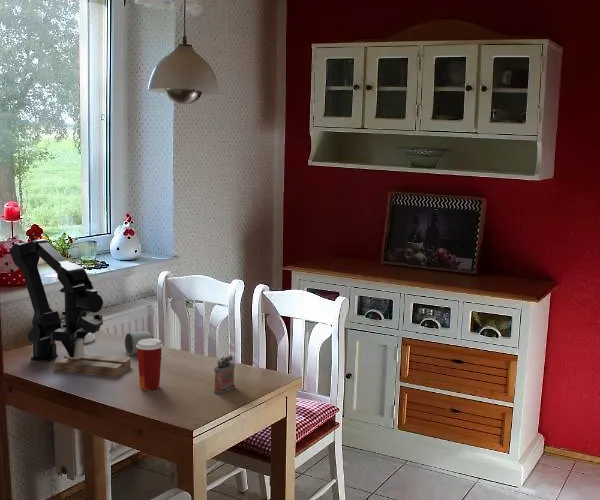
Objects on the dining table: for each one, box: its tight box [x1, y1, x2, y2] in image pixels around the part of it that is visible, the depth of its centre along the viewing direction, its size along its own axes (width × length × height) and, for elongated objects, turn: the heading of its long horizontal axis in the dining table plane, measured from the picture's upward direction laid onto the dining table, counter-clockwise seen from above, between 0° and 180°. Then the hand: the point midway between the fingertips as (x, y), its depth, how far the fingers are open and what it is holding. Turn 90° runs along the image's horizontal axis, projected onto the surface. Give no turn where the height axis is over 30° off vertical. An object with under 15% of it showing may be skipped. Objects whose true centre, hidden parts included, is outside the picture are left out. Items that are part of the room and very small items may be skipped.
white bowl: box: [84, 333, 96, 344], centre depth 267 cm, size 10×10×4 cm
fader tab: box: [66, 338, 85, 360], centre depth 237 cm, size 4×3×8 cm
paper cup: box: [136, 338, 164, 391], centre depth 221 cm, size 8×8×14 cm
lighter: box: [213, 354, 236, 395], centre depth 220 cm, size 8×3×10 cm, turn 148°
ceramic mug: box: [124, 331, 155, 356], centre depth 255 cm, size 11×8×8 cm
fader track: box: [53, 353, 132, 378], centre depth 236 cm, size 21×10×3 cm, turn 78°
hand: (75, 355), depth 237 cm, fingers open, 4 cm apart
